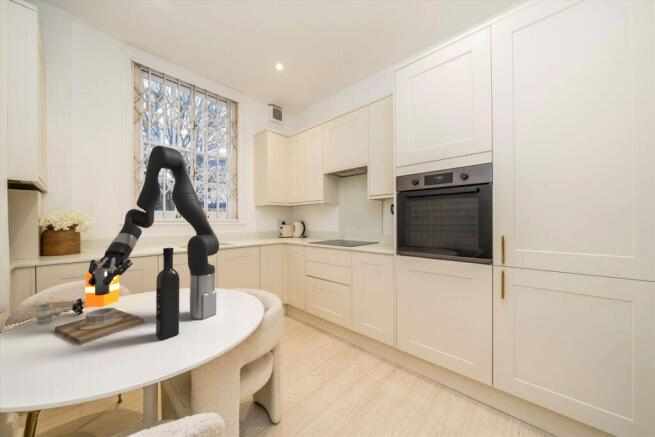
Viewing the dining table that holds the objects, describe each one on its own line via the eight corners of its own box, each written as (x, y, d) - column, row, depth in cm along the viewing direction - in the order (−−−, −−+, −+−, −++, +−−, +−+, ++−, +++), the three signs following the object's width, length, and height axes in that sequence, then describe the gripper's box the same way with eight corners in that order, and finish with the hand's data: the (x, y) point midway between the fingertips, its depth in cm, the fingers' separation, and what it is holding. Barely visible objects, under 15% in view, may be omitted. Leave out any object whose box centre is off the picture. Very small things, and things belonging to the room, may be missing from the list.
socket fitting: (144, 322, 92) (144, 308, 92) (80, 344, 76) (80, 327, 76) (117, 313, 100) (117, 300, 100) (54, 331, 84) (54, 315, 84)
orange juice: (103, 306, 108) (103, 262, 108) (84, 305, 108) (85, 261, 108) (119, 300, 115) (119, 259, 115) (102, 300, 116) (102, 258, 116)
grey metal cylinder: (112, 292, 91) (112, 267, 91) (104, 295, 87) (104, 269, 87) (100, 292, 90) (100, 267, 90) (91, 295, 86) (91, 269, 86)
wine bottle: (161, 341, 78) (162, 249, 78) (154, 336, 82) (155, 248, 82) (180, 334, 83) (180, 248, 83) (173, 329, 86) (174, 246, 86)
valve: (37, 327, 87) (83, 316, 98) (37, 309, 87) (83, 299, 98) (34, 322, 91) (78, 312, 101) (34, 305, 91) (79, 296, 101)
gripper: (97, 241, 95) (68, 279, 83) (137, 241, 97) (114, 278, 85) (107, 252, 100) (82, 290, 88) (144, 252, 102) (125, 289, 90)
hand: (98, 284), depth 87 cm, fingers closed on grey metal cylinder, 4 cm apart
